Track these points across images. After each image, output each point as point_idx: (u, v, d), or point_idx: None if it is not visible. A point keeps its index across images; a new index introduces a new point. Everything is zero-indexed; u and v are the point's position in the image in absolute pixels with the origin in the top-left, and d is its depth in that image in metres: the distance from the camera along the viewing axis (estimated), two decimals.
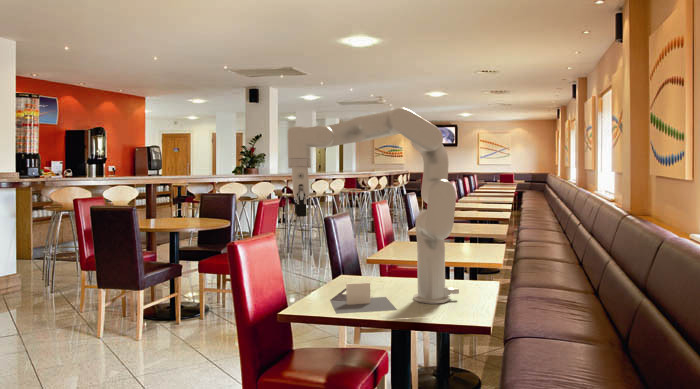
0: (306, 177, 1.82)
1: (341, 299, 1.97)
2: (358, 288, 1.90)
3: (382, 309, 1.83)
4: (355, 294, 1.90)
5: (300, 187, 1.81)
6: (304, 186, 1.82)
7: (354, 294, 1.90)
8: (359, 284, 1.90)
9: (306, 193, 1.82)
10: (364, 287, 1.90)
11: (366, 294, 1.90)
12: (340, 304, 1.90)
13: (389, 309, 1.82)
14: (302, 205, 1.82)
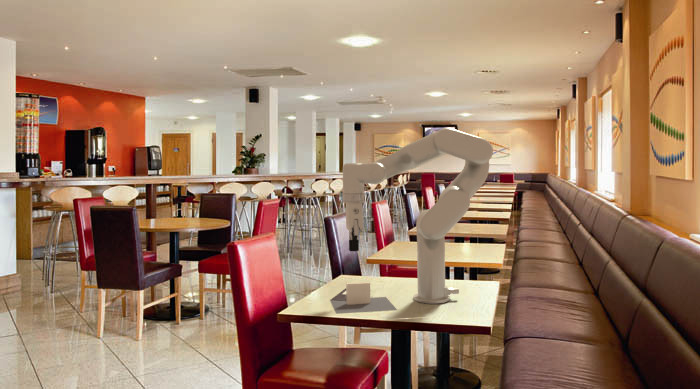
0: (361, 212, 1.91)
1: (341, 299, 1.96)
2: (358, 288, 1.90)
3: (382, 309, 1.83)
4: (355, 294, 1.90)
5: (355, 227, 1.91)
6: (359, 221, 1.90)
7: (354, 294, 1.90)
8: (359, 284, 1.90)
9: (361, 227, 1.91)
10: (364, 287, 1.90)
11: (366, 294, 1.90)
12: (340, 304, 1.90)
13: (389, 309, 1.82)
14: (355, 241, 1.94)
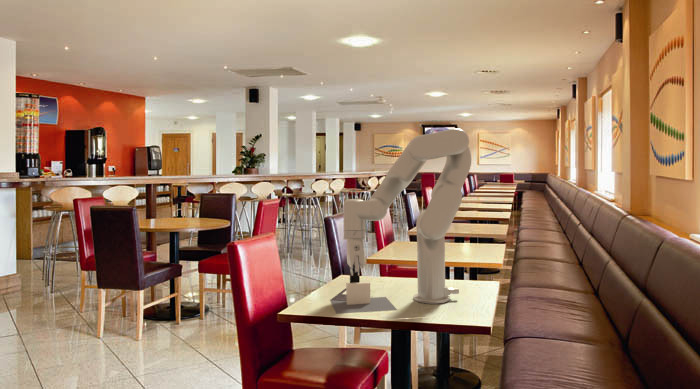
0: (362, 249, 1.91)
1: (341, 299, 1.96)
2: (358, 288, 1.90)
3: (382, 309, 1.83)
4: (355, 294, 1.90)
5: (356, 263, 1.91)
6: (360, 257, 1.91)
7: (354, 294, 1.90)
8: (359, 284, 1.90)
9: (361, 264, 1.91)
10: (364, 287, 1.90)
11: (366, 294, 1.90)
12: (340, 304, 1.90)
13: (389, 309, 1.82)
14: (356, 277, 1.95)
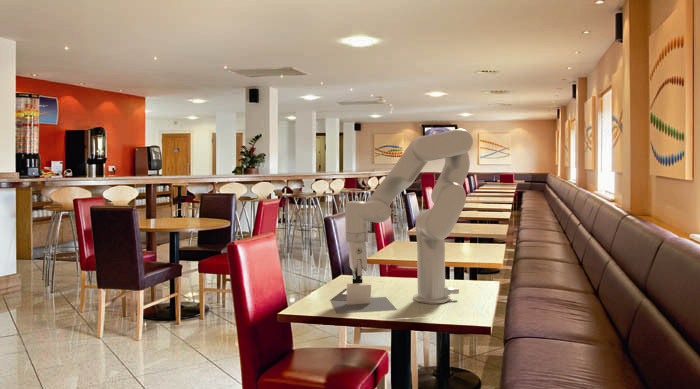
0: (364, 252, 1.87)
1: (341, 299, 1.96)
2: (359, 289, 1.89)
3: (382, 309, 1.83)
4: (355, 295, 1.89)
5: (358, 267, 1.87)
6: (362, 261, 1.87)
7: (354, 295, 1.89)
8: (360, 286, 1.88)
9: (364, 267, 1.87)
10: (364, 288, 1.89)
11: (366, 295, 1.90)
12: (340, 304, 1.90)
13: (389, 309, 1.82)
14: (359, 280, 1.90)
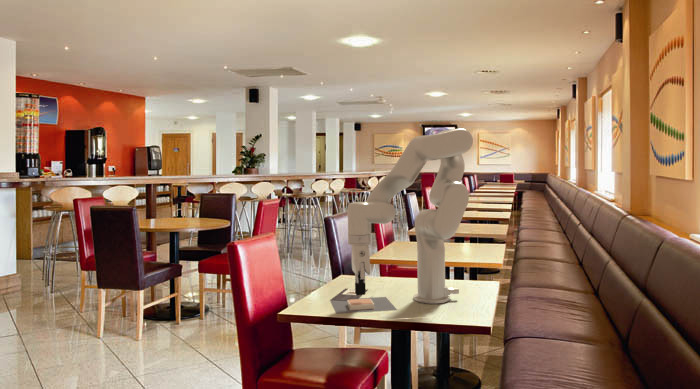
0: (367, 254, 1.81)
1: (341, 299, 1.96)
2: None
3: (382, 309, 1.83)
4: None
5: (361, 270, 1.81)
6: (365, 264, 1.81)
7: None
8: (363, 308, 1.84)
9: (367, 271, 1.81)
10: None
11: None
12: (340, 304, 1.90)
13: (389, 309, 1.82)
14: (361, 284, 1.85)
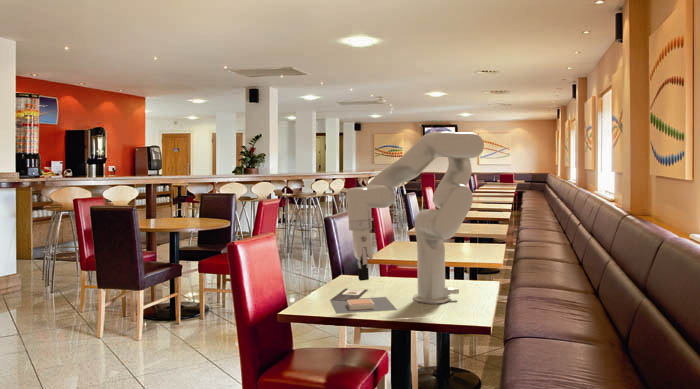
0: (369, 239, 1.80)
1: (341, 299, 1.96)
2: None
3: (382, 309, 1.83)
4: None
5: (363, 255, 1.81)
6: (367, 249, 1.80)
7: None
8: (363, 308, 1.84)
9: (370, 256, 1.81)
10: None
11: None
12: (340, 304, 1.90)
13: (389, 309, 1.82)
14: (364, 269, 1.84)
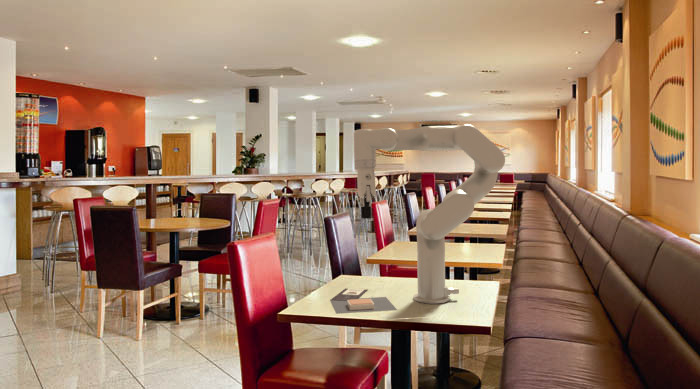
0: (373, 178, 1.89)
1: (341, 299, 1.96)
2: None
3: (382, 309, 1.83)
4: None
5: (367, 193, 1.89)
6: (371, 187, 1.89)
7: None
8: (363, 308, 1.84)
9: (373, 193, 1.89)
10: None
11: None
12: (340, 304, 1.90)
13: (389, 309, 1.82)
14: (367, 207, 1.93)
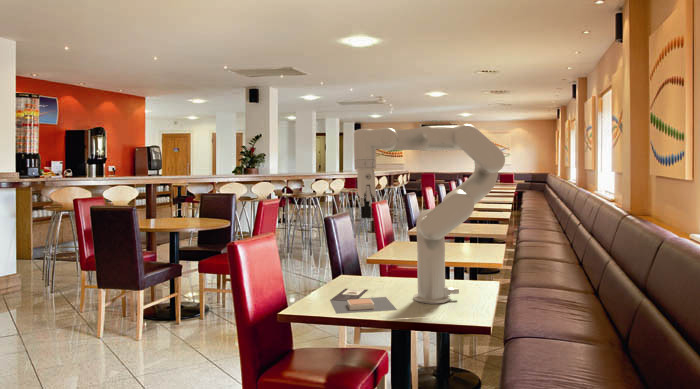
0: (373, 178, 1.90)
1: (341, 299, 1.96)
2: None
3: (382, 309, 1.83)
4: None
5: (367, 192, 1.90)
6: (371, 186, 1.89)
7: None
8: (363, 308, 1.84)
9: (373, 193, 1.90)
10: None
11: None
12: (340, 304, 1.90)
13: (389, 309, 1.82)
14: (367, 207, 1.93)
